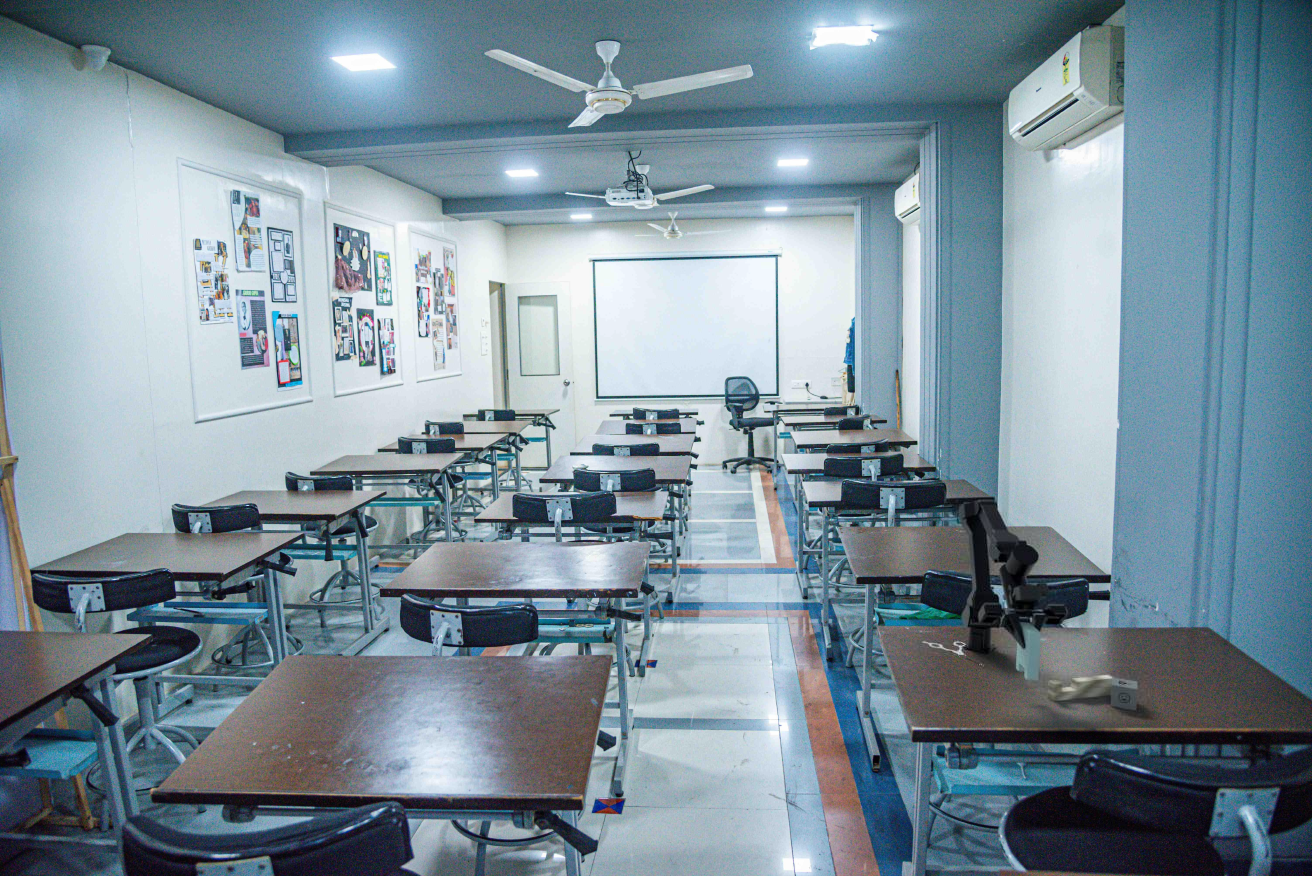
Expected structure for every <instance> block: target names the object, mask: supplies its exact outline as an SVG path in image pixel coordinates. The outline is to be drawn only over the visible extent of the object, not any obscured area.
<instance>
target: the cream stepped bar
mask: <svg viewBox="0 0 1312 876" xmlns="http://www.w3.org/2000/svg"><path fill="white" fill-rule="evenodd" d="M1112 677H1113V676H1111V675H1110V674H1104V675H1103V674H1102V675H1094V676H1093V675H1092V676H1085V677H1084V676H1083V677H1074V678H1070V686H1067V687H1063V683H1062V682H1061V681H1058V680H1057V679H1055V680H1048V686H1047V687H1048V689H1047V699H1050V700H1051V701H1053V702H1058V701H1068V700H1076V699H1085V698H1094V697H1095V698H1096V697H1104V696H1111V689H1112Z"/></svg>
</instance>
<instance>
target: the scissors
mask: <svg viewBox="0 0 1312 876" xmlns="http://www.w3.org/2000/svg"><path fill="white" fill-rule="evenodd" d="M961 643H962V645H958V644H961ZM922 644H925V645H928V646H929V647H930V648H932V649H939V650H944V651H945V652H946V651H947V652H950V651H952V653H953V654H955V653H956V654H955V655H957V654H958V655H957V656H959V655H965V653H964V652H963V648H964V646H965V645H966V643H964V642H963V641H954V642H953V646H954V647H958V648H959V649H958V650H953V649H948V648H945V647H944V646H943V644H940V643H936V642H932V643H931V642H927V641H925V640H924V641H923V640H922ZM963 644H964V645H963ZM934 645H935V646H934ZM980 664H981V665H980V666H982V665H983V664H982V663H980Z"/></svg>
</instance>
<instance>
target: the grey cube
mask: <svg viewBox="0 0 1312 876" xmlns="http://www.w3.org/2000/svg"><path fill="white" fill-rule="evenodd" d="M1111 677H1112V689H1111V695H1110V707H1113V708H1114V707H1115V708H1119V709H1124V710H1132V711H1135V712H1136V711H1137V703H1138V702H1137V701H1138V681H1137V680H1130V679H1122V678H1117V677H1114V676H1111Z"/></svg>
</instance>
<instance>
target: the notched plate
mask: <svg viewBox="0 0 1312 876" xmlns="http://www.w3.org/2000/svg"><path fill="white" fill-rule="evenodd" d="M1030 623H1031V622H1027V621H1026V622H1021V621H1020V626H1021V629H1022V633H1023V636H1024V639H1025V645H1026V648H1025V649H1023V648H1022V647H1021V646H1020V645H1019V643H1018V642H1017V641H1016V660H1015V661H1016V662H1015V669H1016V670H1017V672H1024V674H1023V675H1024V676H1023V677H1024V678H1025V680H1026V681H1039V675H1040V674H1039V673H1040V672H1039V671H1040V670H1039V669H1040V652H1041V639H1042V638H1041V636H1042V633H1041V631H1040V632H1039V631H1038V630H1037V629H1036V628H1035V627H1034V626H1032V625H1031V624H1030Z"/></svg>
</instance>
